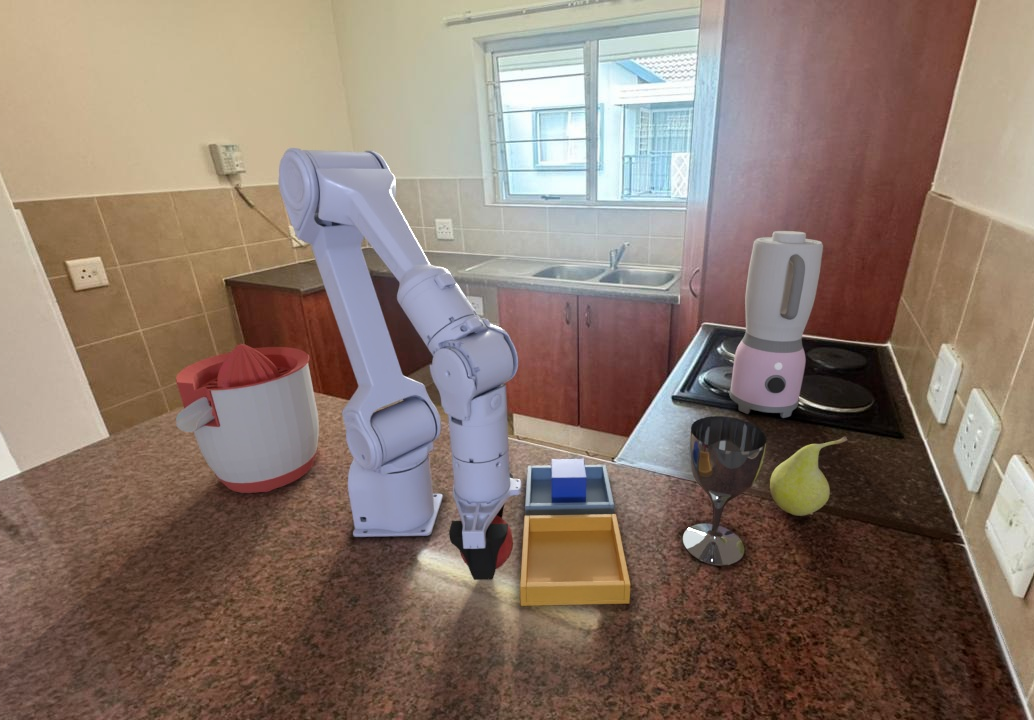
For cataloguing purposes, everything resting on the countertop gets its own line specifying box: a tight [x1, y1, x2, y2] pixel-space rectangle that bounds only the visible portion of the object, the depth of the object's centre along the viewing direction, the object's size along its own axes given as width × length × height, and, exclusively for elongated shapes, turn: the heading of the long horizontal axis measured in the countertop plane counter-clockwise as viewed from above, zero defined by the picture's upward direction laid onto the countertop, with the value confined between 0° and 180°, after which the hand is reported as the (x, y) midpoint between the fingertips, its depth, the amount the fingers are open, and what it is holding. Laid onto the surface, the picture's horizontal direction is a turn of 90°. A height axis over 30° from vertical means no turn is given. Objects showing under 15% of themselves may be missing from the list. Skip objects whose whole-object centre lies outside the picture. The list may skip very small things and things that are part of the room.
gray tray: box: [524, 464, 615, 516], centre depth 67 cm, size 11×9×2 cm
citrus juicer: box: [175, 343, 320, 494], centre depth 70 cm, size 16×17×20 cm
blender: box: [729, 230, 824, 419], centre depth 88 cm, size 16×12×32 cm
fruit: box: [769, 436, 848, 517], centre depth 64 cm, size 7×8×12 cm
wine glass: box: [682, 415, 768, 566], centre depth 57 cm, size 8×8×15 cm
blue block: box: [550, 458, 587, 503], centre depth 67 cm, size 4×4×4 cm
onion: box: [459, 515, 514, 570], centre depth 54 cm, size 6×6×8 cm
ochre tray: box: [519, 513, 631, 607], centre depth 56 cm, size 11×11×2 cm
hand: (487, 555), depth 55 cm, fingers closed on onion, 6 cm apart
